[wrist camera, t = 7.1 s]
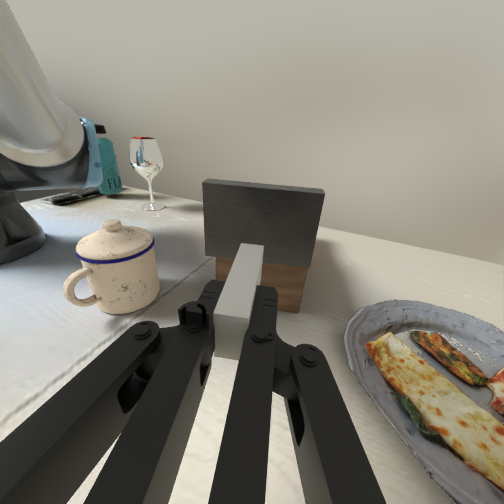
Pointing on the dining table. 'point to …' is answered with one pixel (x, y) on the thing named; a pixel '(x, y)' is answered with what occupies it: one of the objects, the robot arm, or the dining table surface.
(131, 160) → the wineglass
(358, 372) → the food plate
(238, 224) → the plunger
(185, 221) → the dining table surface
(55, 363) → the dining table surface
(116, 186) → the beverage bottle
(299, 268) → the launcher
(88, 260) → the teacup with lid
